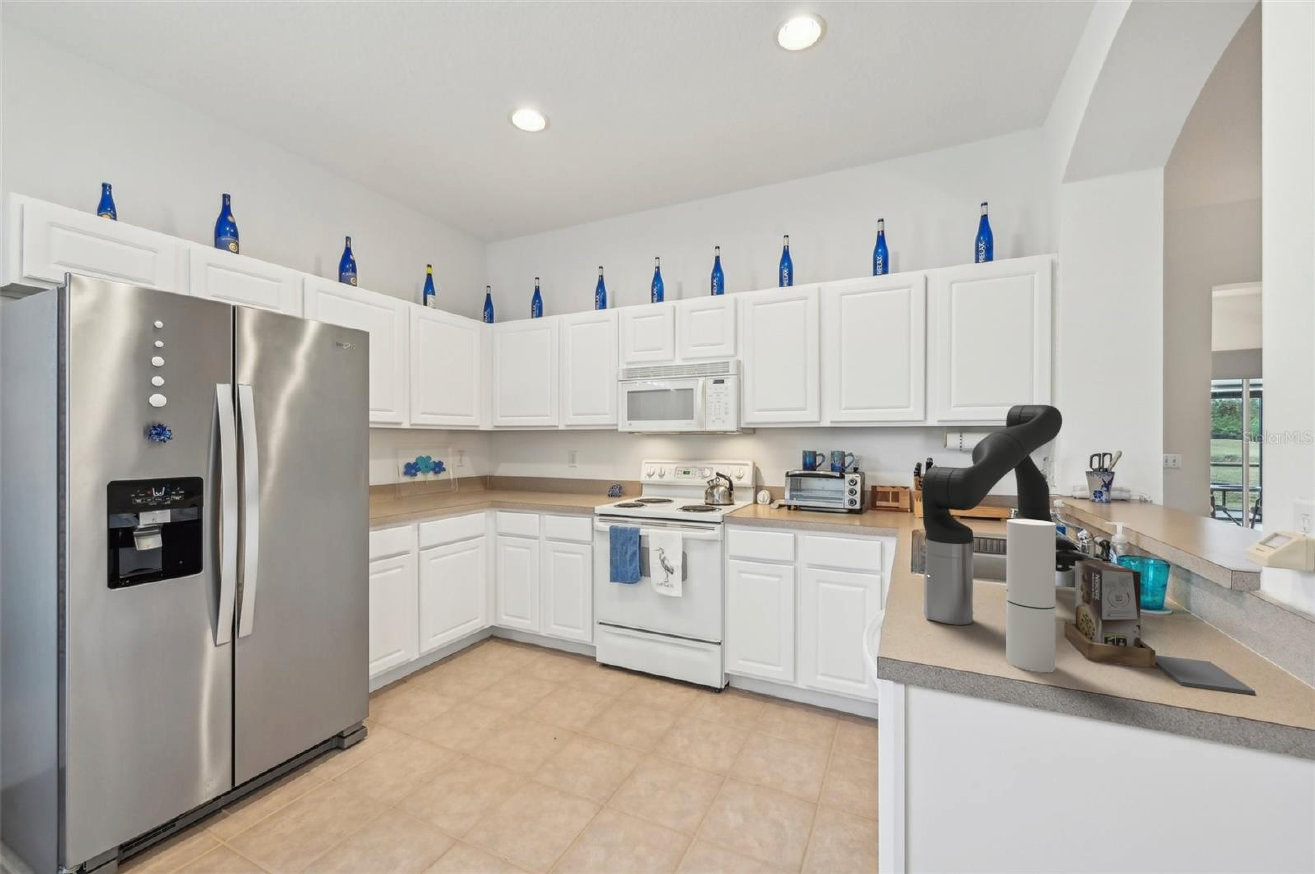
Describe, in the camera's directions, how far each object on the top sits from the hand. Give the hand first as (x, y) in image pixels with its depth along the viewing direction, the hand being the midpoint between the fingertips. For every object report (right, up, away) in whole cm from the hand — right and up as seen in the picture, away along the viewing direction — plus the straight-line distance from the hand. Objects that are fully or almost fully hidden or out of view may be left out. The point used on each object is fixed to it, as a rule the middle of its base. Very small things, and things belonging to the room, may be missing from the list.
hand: (1079, 567), depth 116 cm
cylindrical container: (-23, -13, -19) cm, 33 cm away
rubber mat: (+2, -12, -23) cm, 26 cm away
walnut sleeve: (-5, -12, -13) cm, 19 cm away
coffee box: (-5, -13, -13) cm, 19 cm away
